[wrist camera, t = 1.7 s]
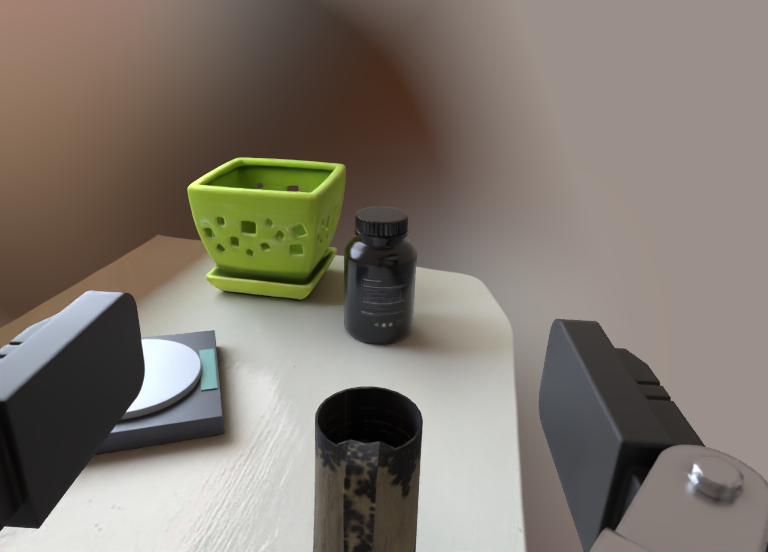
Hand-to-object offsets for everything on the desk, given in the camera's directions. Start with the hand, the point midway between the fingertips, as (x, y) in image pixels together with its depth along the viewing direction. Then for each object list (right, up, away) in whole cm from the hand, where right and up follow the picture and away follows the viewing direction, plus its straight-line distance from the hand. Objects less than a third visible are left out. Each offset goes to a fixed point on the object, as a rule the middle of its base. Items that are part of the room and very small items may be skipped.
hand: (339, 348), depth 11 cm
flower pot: (-12, +1, +56) cm, 57 cm away
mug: (0, -16, +19) cm, 25 cm away
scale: (-19, -8, +34) cm, 40 cm away
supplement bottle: (0, -4, +46) cm, 46 cm away
